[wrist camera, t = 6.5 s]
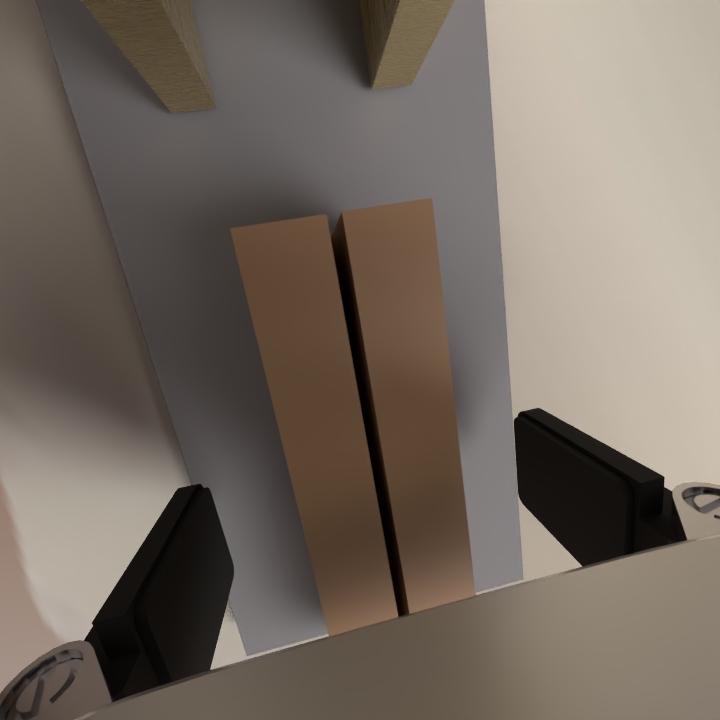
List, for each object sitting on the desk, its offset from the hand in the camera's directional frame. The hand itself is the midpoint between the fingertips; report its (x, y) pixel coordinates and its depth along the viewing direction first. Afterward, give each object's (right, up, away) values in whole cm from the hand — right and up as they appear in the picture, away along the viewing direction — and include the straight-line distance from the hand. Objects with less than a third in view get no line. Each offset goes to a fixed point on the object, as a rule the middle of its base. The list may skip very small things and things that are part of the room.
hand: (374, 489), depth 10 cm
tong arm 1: (+1, 0, +2) cm, 2 cm away
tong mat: (-1, +4, +3) cm, 5 cm away
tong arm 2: (-1, 0, +2) cm, 2 cm away
